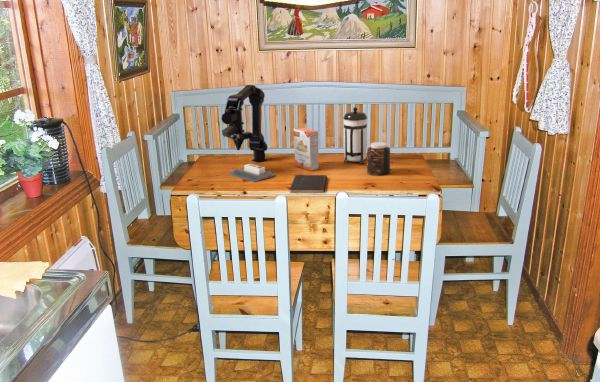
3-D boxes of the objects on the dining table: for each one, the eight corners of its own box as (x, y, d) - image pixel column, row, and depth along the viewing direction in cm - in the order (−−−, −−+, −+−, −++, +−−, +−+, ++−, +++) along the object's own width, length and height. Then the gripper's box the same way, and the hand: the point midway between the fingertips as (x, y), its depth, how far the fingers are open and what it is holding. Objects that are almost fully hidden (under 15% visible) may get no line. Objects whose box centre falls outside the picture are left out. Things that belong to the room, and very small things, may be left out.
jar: (389, 176, 280) (389, 146, 276) (366, 175, 282) (366, 146, 278) (390, 169, 291) (391, 141, 286) (368, 169, 293) (368, 141, 289)
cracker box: (294, 166, 303) (293, 128, 297) (303, 164, 307) (302, 126, 300) (310, 171, 293) (309, 132, 286) (319, 169, 296) (318, 130, 290)
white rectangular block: (244, 172, 290) (244, 164, 289) (250, 171, 293) (250, 163, 292) (259, 177, 282) (258, 168, 281) (265, 175, 285) (265, 167, 283)
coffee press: (335, 160, 312) (334, 107, 302) (360, 156, 318) (360, 104, 309) (350, 167, 297) (350, 111, 287) (376, 163, 303) (377, 108, 294)
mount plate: (228, 174, 293) (227, 169, 292) (249, 168, 302) (248, 164, 301) (254, 182, 278) (253, 176, 277) (275, 175, 287) (274, 170, 286)
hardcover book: (289, 193, 260) (289, 189, 260) (295, 179, 282) (295, 175, 281) (324, 193, 259) (324, 189, 258) (327, 179, 280) (327, 174, 280)
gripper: (212, 120, 289) (215, 150, 294) (235, 125, 276) (237, 155, 281) (230, 117, 296) (232, 146, 301) (252, 121, 284) (254, 151, 288)
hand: (238, 150), depth 293 cm, fingers closed
